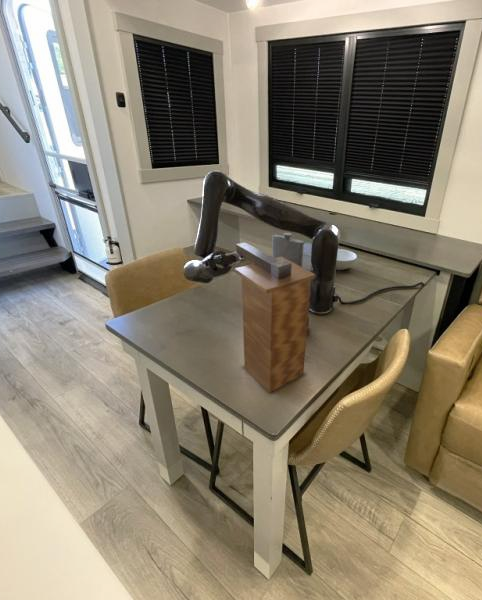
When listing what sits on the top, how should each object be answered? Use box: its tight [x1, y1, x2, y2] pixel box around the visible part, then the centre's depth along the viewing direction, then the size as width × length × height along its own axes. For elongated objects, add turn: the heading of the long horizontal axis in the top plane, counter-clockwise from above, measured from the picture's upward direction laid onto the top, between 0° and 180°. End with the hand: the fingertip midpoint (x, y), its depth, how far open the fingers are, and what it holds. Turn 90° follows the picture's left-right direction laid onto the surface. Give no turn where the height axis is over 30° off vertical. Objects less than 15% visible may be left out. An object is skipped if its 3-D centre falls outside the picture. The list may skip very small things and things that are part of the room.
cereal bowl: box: [336, 248, 358, 271], centre depth 167 cm, size 17×17×7 cm
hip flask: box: [271, 232, 305, 268], centre depth 152 cm, size 16×4×20 cm, turn 62°
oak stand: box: [233, 257, 316, 393], centre depth 90 cm, size 15×14×32 cm
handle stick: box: [235, 242, 292, 279], centre depth 85 cm, size 4×20×3 cm, turn 41°
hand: (237, 255), depth 94 cm, fingers open, 8 cm apart
